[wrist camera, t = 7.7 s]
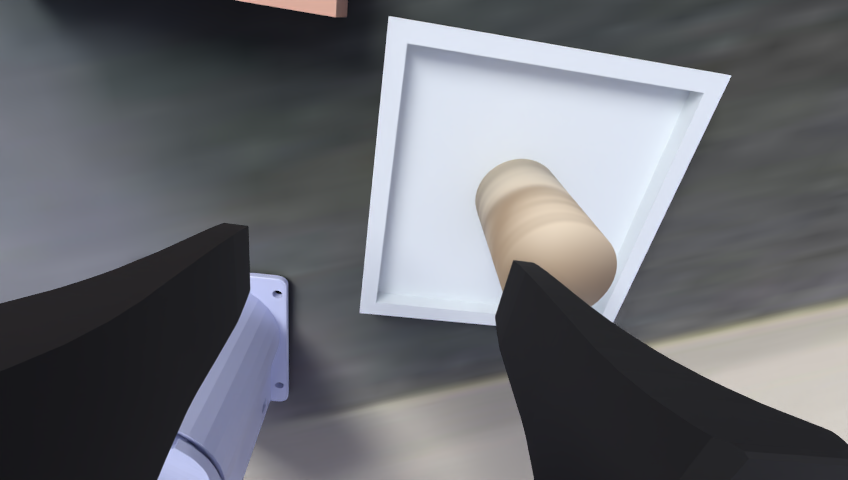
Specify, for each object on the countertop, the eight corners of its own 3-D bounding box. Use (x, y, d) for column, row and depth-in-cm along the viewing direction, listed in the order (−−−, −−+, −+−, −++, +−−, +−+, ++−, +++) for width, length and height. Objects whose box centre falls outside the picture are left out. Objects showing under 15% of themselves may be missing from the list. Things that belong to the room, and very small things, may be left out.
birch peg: (546, 237, 21) (596, 323, 15) (469, 231, 21) (491, 316, 15) (567, 162, 19) (634, 229, 13) (483, 155, 19) (514, 219, 13)
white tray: (595, 318, 24) (606, 336, 23) (362, 296, 23) (359, 312, 22) (707, 71, 18) (731, 75, 17) (389, 16, 16) (388, 15, 15)
